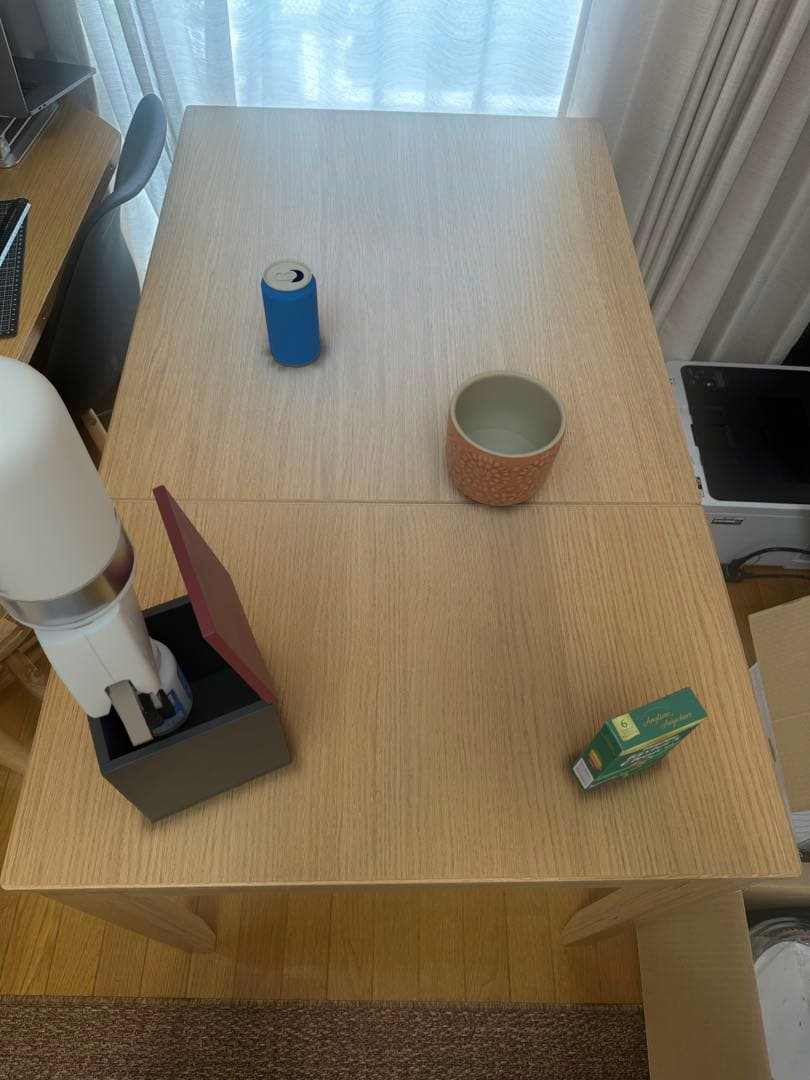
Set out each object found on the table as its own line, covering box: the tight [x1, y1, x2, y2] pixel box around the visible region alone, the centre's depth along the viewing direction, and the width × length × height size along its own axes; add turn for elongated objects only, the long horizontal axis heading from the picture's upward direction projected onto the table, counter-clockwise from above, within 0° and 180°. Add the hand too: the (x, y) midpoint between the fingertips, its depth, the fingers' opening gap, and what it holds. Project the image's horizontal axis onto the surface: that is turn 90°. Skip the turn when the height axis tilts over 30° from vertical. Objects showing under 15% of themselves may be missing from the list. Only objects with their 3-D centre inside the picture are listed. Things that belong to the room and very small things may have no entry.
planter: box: [444, 369, 568, 507], centre depth 81 cm, size 12×12×11 cm
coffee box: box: [570, 686, 708, 794], centre depth 62 cm, size 8×3×13 cm, turn 111°
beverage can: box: [260, 258, 322, 367], centre depth 91 cm, size 6×6×12 cm
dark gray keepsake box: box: [85, 593, 292, 824], centre depth 62 cm, size 13×12×15 cm
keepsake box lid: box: [152, 484, 279, 704], centre depth 51 cm, size 14×12×1 cm
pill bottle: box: [136, 637, 193, 736], centre depth 56 cm, size 5×5×10 cm
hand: (143, 683), depth 56 cm, fingers closed on pill bottle, 5 cm apart
